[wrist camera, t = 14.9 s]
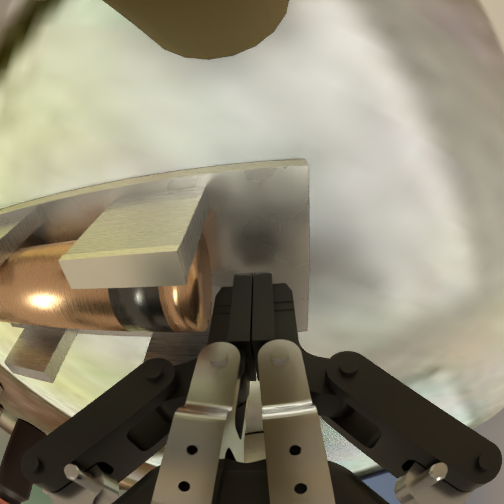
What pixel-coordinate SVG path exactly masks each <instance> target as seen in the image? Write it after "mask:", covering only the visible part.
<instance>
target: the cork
mask: <svg viewBox="0 0 504 504" xmlns="http://www.w3.org/2000/svg"><path fill="white" fill-rule="evenodd" d="M34 1H44V0H34ZM103 1H104V2H105V3H107V4H108V5H109V6H111V7H112V8H113V9H115V10H116V11H117V12H119V13H120V14H121V15H123V16H124V17H125V18H126V19H128V20H129V21H130V22H132V23H133V24H134V25H135V26H137V27H138V28H139V29H140V30H142V31H143V32H144V33H145V34H146V35H148V36H149V37H150V38H151V39H153V40H154V41H155V42H156V43H157V44H159V45H160V46H161V47H162V48H163V49H165V50H167V51H170V52H173V53H175V54H178V55H180V56H183V57H187V58H199V59H208V60H209V59H215V58H221V57H227V56H233V55H236V54H238V53H240V52H242V51H245V50H247V49H249V48H252V47H254V46H256V45H257V44H259V43H260V42H261V41H262V40H264V39H265V38H266V37H267V36H269V35H270V34H271V33H273V32H274V31H275V29H276V28H277V26H278V25H279V23H280V22H281V20H282V19H283V17H284V16H285V14H286V11H287V7H288V2H289V0H103Z"/></svg>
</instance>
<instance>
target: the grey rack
mask: <svg viewBox="0 0 504 504" xmlns="http://www.w3.org/2000/svg"><path fill="white" fill-rule="evenodd" d="M202 233H203V235H204V238H205V241H206V244H207V248H208V253H209V259H210V266H211V276H212V309H211V317H210V322H209V325H208V327H207V329H206V330H205V331H204V332H130V331H103V330H84V329H69V328H56V327H45V326H35V325H25V324H17V323H11V325H12V326H13V327H20V328H25V329H24V330H23V332H22V333H21V335H20V337H19V338H18V340H17V341H16V343H15V345H14V346H13V348H12V350H11V351H10V353H9V355H8V357H7V358H6V360H5V362H4V363H5V364H6V365H7V366H8V368H9V369H10V370H11V371H12V372H13V373H16V374H19V375H23V376H26V377H30V378H34V379H38V380H42V381H46V382H50V383H53V382H54V380H55V378H56V376H57V374H58V372H59V369H60V367H61V365H62V363H63V361H64V359H65V357H66V355H67V353H68V351H69V349H70V347H71V345H72V343H73V341H74V339H75V337H76V335H77V333H81V334H97V335H116V336H146V337H151V340H150V343H149V346H148V349H147V353H146V356H145V359H144V362H145V361H147V360H149V359H153V358H163V359H166V360H168V361H170V362H171V363H172V364H173V366H174V365H178V364H182V363H186V362H189V361H192V360H194V359H196V358H198V356H199V353H200V352H201V351H202V349H203V348H205V347H206V346H207V343H208V337H209V331H210V325H211V319H212V315H213V307H214V302H215V296H216V294H217V293H218V292H219V290H220V289H221V288H222V287H230V286H233V280H234V274H236V273H253V277H254V272H267V271H272V281H273V284H278V283H286V284H287V285H288V286H289V288H290V289H291V290H292V293H293V301H294V308H295V316H296V324H297V332H302V331H307V327H308V299H309V174H308V164H307V162H306V161H305V159H292V160H277V161H263V162H251V163H240V164H230V165H221V166H212V167H203V168H195V169H188V170H181V171H174V172H167V173H160V174H154V175H148V176H142V177H136V178H130V179H125V180H119V181H114V182H109V183H104V184H99V185H94V186H90V187H85V188H80V189H76V190H72V191H67V192H63V193H59V194H55V195H51V196H47V197H43V198H39V199H35V200H32V201H28V202H24V203H21V204H17V205H14V206H11V207H7V208H4V209H1V210H0V265H1V264H2V263H3V262H4V261H5V260H6V259H7V258H8V257H9V256H10V255H11V254H12V253H13V252H14V251H15V250H16V249H17V248H23V247H30V246H37V245H45V244H52V243H60V242H67V241H75V240H77V241H76V242H75V243H74V245H73V246H72V247H71V248H70V249H69V250H68V251H67V253H66V254H65V255H62V257H61V258H60V259H59V260H58V261H59V264H60V266H61V268H62V270H63V272H64V274H65V277H66V279H67V281H68V283H69V285H70V287H71V289H96V288H129V287H155V286H177V285H186V284H187V281H188V275H189V271H190V268H191V265H192V262H193V259H194V255H195V252H196V249H197V246H198V243H199V240H200V237H201V234H202ZM144 362H143V363H144Z"/></svg>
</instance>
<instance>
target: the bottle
mask: <svg viewBox="0 0 504 504" xmlns="http://www.w3.org/2000/svg"><path fill="white" fill-rule="evenodd" d="M45 437H46V435H45V434H44V433H43V432H41V431H40V430H39V429H37V428H36V427H34V426H33V425H31V424H29V423H27V422H25V421H23V420H21V419H18V420H17V422H16V424H15V427H14V429H13V432H12V434H11V437H10V440H9V442H8V445H7V448H6V451H5V454H4V456H3V460H2V462H1V466H0V504H21V502H23V501H26V500H28V499H29V497H30V492H31V489H32V485H33V483H31V482H29V481H28V480H27V479H26V478H25V477H24V475H23V473H22V470H21V459H22V457H23V455H24V453H25V452H26V451H27V450H28V449H29V448H31V447H32V446H34V445H35V444H36V443H38V442H39V441H40V440H42V439H43V438H45Z"/></svg>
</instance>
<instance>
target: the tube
mask: <svg viewBox="0 0 504 504" xmlns="http://www.w3.org/2000/svg"><path fill="white" fill-rule="evenodd" d="M76 241H77V240H75V241H67V242H60V243H52V244H45V245H37V246H30V247H23V248H17V249H16V250H15V251H14V252H13V253H12V254H11V255H10V256H9V257H8V258H7V259H6V260H5V261H4V262H3V263H2V264H1V265H0V321H1V322H8V323H17V324H25V325H35V326H45V327H56V328H69V329H84V330H103V331H130V332H204V331H205V330H206V329H207V327H208V325H209V322H210V317H211V309H212V276H211V266H210V259H209V253H208V248H207V244H206V241H205V238H204V235H203V233H202V234H201V237H200V240H199V243H198V246H197V249H196V252H195V255H194V259H193V262H192V265H191V268H190V271H189V275H188V281H187V284H186V285H177V286H155V287H129V288H96V289H71V287H70V285H69V283H68V281H67V279H66V277H65V274H64V272H63V270H62V268H61V266H60V264H59V261H58V260H59V259H60V258H61V257H62V255H65V254H66V253H67V251H68V250H69V249H70V248H71V247H72V246H73V245H74V243H75V242H76Z"/></svg>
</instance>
